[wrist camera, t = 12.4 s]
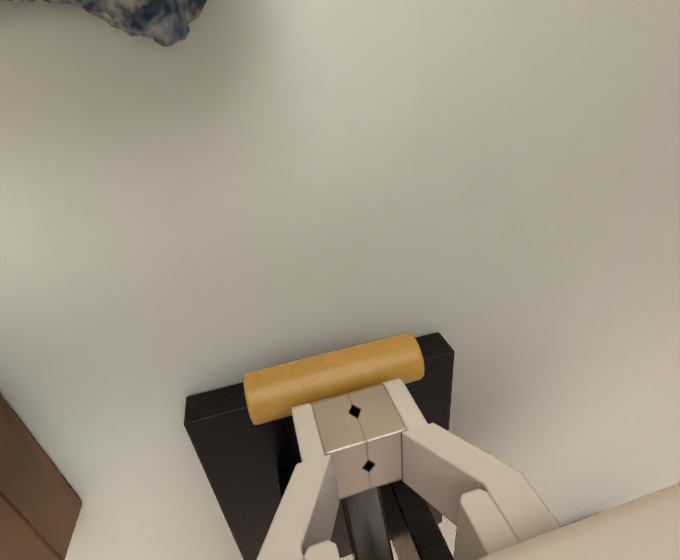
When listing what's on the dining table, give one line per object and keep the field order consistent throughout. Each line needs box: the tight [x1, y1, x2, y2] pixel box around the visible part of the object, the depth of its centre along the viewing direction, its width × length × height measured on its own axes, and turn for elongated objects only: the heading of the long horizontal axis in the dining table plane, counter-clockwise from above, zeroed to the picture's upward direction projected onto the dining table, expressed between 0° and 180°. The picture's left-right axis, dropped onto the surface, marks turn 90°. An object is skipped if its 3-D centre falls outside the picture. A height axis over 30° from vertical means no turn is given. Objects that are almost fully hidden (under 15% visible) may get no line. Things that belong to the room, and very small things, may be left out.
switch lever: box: [243, 332, 425, 560], centre depth 12 cm, size 11×5×2 cm, turn 6°
